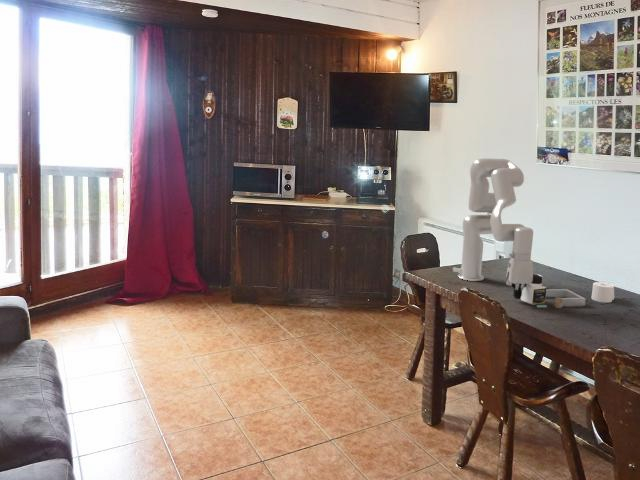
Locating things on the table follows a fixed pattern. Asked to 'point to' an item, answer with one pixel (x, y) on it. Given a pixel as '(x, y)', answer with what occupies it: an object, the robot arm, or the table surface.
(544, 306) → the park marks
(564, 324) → the table surface
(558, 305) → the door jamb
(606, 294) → the toilet paper
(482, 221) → the robot arm
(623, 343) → the table surface
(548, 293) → the index socket
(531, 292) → the medicine bottle
